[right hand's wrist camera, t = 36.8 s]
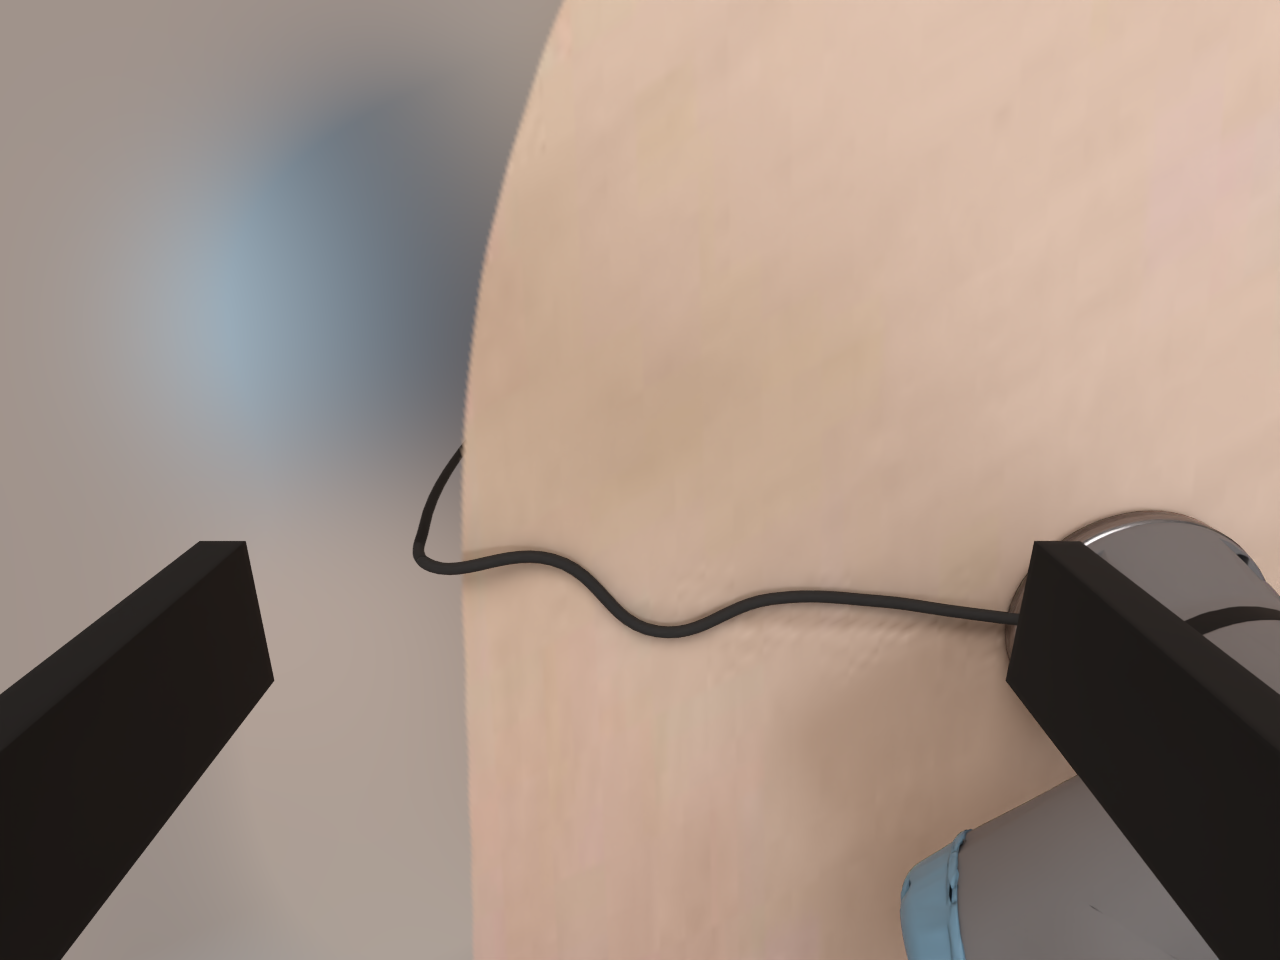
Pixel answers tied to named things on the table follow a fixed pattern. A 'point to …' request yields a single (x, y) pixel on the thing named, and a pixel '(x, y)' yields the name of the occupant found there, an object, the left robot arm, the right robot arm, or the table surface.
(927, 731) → the table surface
